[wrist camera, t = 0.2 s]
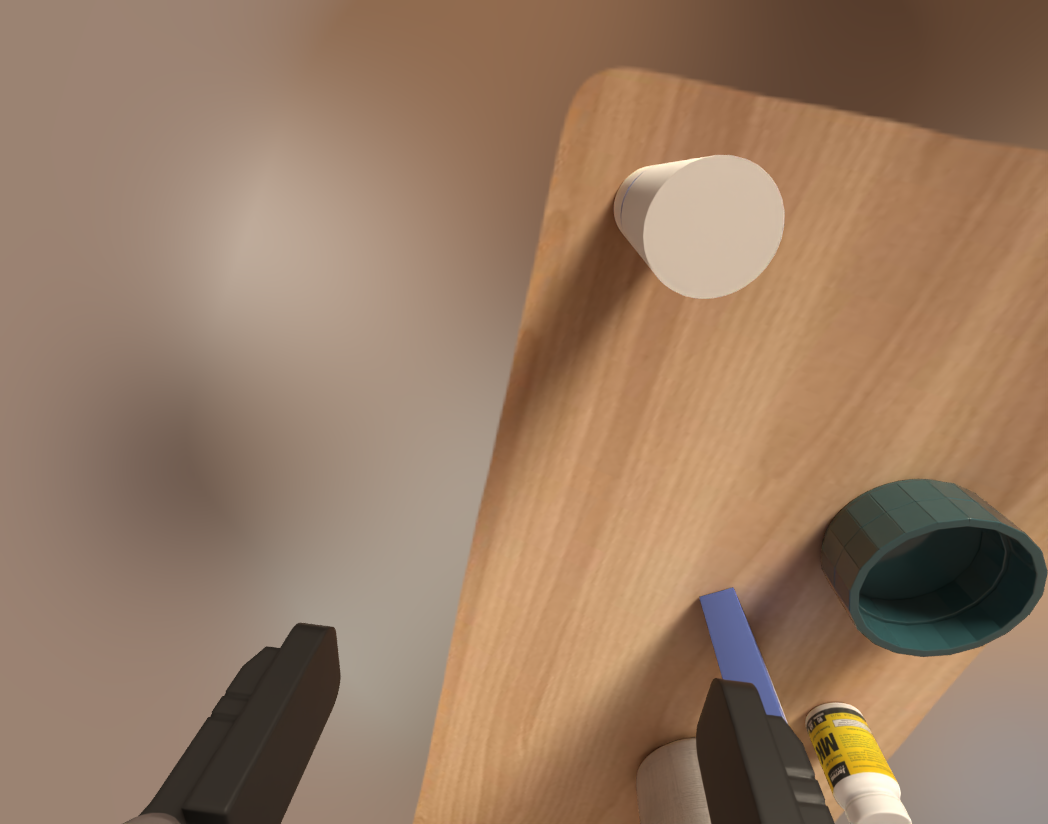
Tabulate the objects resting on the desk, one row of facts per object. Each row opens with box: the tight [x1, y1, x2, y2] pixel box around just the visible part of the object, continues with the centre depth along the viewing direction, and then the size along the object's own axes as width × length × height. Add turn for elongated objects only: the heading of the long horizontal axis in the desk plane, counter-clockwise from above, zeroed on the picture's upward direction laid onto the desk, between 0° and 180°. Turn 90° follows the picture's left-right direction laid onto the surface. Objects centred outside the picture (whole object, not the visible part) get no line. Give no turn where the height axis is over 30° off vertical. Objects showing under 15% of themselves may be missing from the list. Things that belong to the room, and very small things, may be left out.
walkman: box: [699, 588, 788, 724], centre depth 37 cm, size 8×3×12 cm, turn 26°
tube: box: [614, 155, 784, 299], centre depth 23 cm, size 4×4×15 cm
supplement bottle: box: [805, 703, 912, 824], centre depth 42 cm, size 5×5×8 cm
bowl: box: [821, 479, 1047, 657], centre depth 35 cm, size 11×11×5 cm
